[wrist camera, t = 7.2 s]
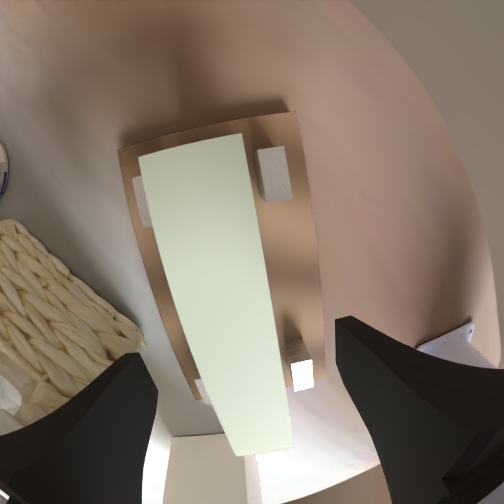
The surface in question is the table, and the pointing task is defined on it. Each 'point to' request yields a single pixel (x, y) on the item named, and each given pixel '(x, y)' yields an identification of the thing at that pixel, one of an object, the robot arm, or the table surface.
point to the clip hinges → (271, 189)
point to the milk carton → (210, 473)
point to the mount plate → (271, 233)
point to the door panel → (221, 285)
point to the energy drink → (3, 169)
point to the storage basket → (50, 331)
